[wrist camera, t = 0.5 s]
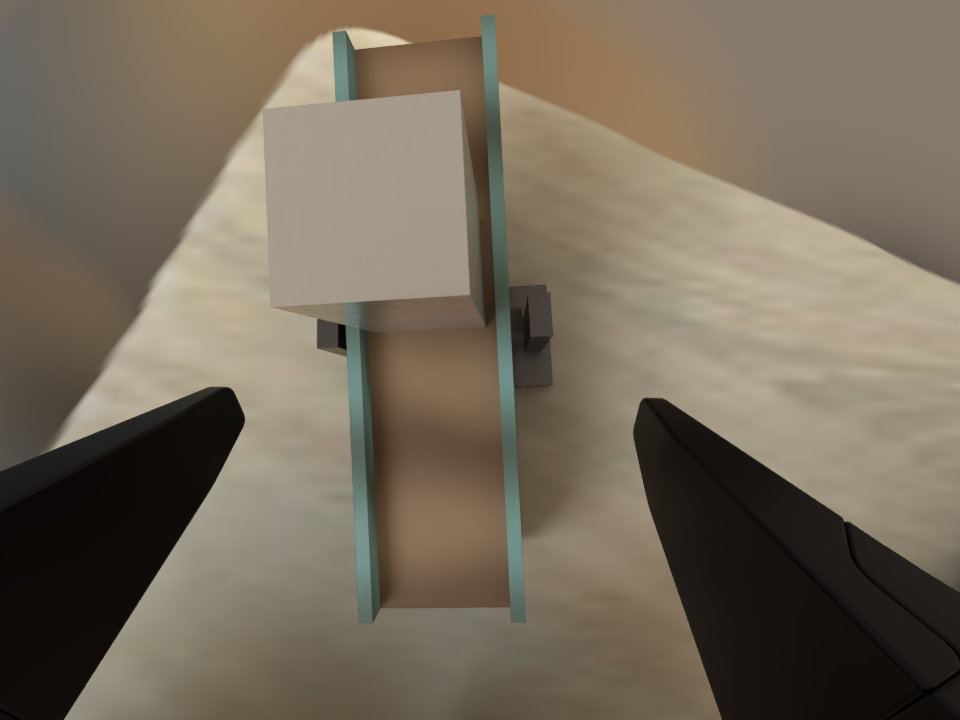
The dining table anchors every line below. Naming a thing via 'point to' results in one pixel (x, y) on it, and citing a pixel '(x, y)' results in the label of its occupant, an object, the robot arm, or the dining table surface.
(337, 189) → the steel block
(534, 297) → the beam stand
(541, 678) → the dining table surface
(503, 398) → the balance beam
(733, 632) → the robot arm
